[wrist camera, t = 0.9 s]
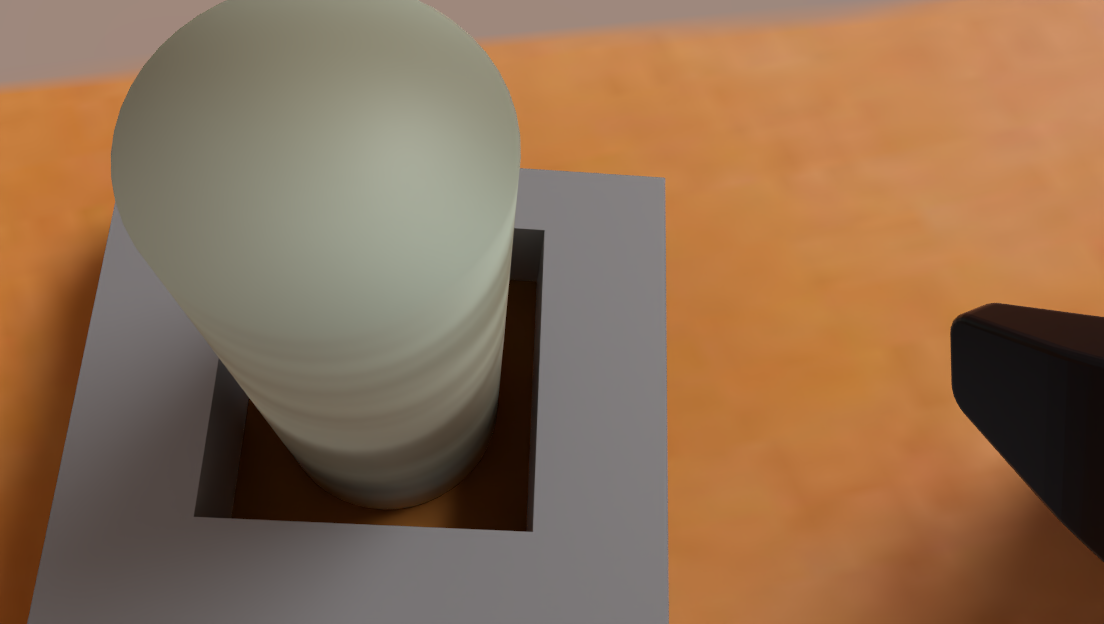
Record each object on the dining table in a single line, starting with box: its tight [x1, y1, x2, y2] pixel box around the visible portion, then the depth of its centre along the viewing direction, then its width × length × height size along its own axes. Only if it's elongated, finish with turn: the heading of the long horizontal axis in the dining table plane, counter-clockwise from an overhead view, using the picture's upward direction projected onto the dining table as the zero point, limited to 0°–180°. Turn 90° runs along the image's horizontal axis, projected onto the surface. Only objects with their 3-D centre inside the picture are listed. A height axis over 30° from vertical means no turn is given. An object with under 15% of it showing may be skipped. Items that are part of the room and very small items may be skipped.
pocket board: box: [27, 168, 669, 624], centre depth 21 cm, size 16×12×3 cm
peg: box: [111, 0, 521, 510], centre depth 18 cm, size 5×5×12 cm
